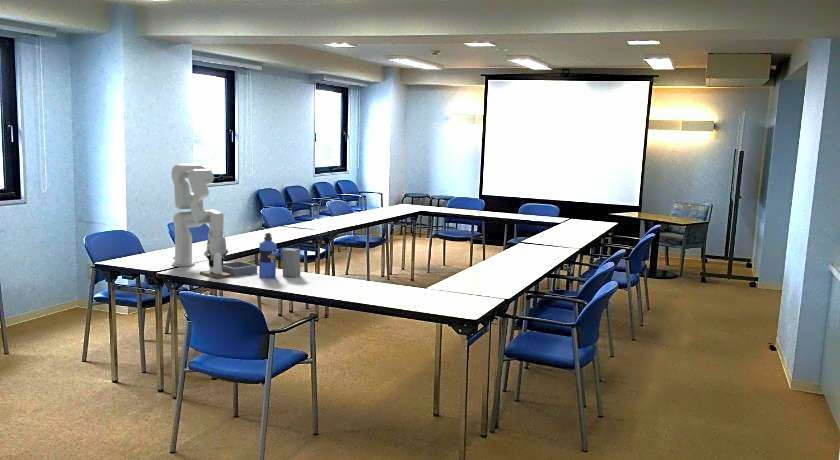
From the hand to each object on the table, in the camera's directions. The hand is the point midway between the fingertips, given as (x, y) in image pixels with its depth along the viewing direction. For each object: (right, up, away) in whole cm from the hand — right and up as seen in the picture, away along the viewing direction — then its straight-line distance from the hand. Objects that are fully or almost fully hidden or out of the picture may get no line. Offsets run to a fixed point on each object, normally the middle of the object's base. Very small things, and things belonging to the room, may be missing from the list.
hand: (216, 265), depth 391 cm
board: (0, -5, +1) cm, 6 cm away
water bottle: (+28, -7, +4) cm, 29 cm away
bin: (+9, -4, +11) cm, 15 cm away
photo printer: (0, -4, +1) cm, 4 cm away
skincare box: (+40, -7, +9) cm, 42 cm away
